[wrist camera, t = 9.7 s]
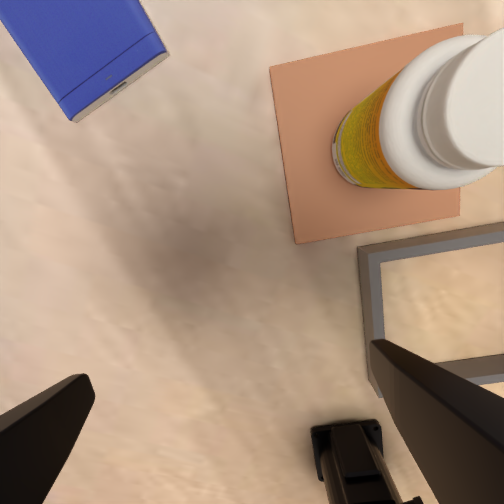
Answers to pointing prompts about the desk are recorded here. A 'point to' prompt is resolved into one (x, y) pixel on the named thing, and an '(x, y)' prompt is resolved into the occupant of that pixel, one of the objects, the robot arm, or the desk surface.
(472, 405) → the robot arm
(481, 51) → the supplement bottle
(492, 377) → the square frame
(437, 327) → the desk surface
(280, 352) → the desk surface
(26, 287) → the desk surface
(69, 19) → the hard drive
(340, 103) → the pad
